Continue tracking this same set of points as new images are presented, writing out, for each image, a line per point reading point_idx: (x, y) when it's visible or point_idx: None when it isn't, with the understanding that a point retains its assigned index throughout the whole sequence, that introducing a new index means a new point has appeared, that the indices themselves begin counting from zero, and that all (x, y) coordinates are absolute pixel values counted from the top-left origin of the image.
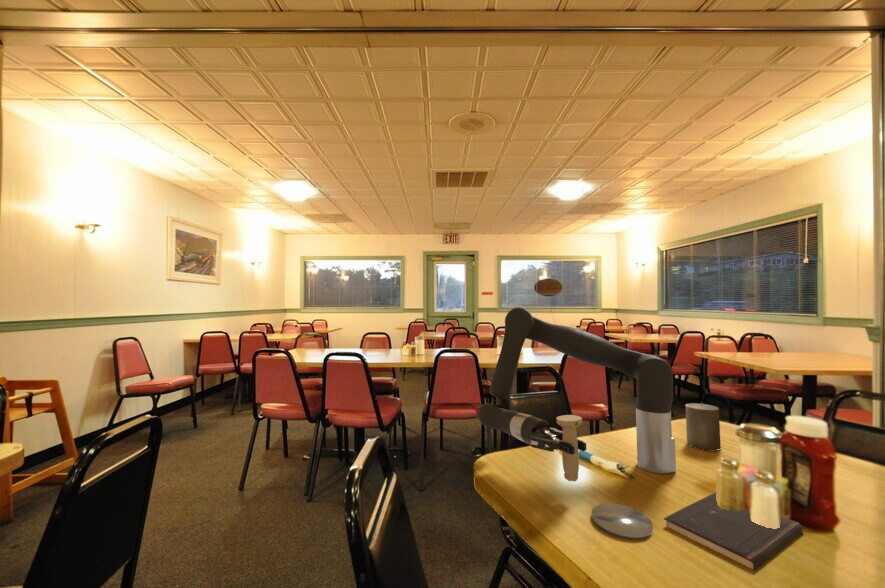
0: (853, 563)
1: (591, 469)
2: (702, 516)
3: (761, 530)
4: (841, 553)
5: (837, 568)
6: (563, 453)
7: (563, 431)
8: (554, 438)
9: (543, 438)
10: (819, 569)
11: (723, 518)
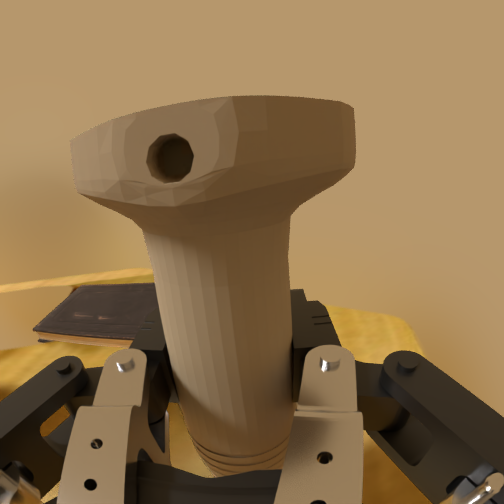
0: (123, 273)
1: None
2: (126, 319)
3: (121, 290)
4: (110, 278)
5: (140, 274)
6: (294, 410)
7: (286, 258)
8: (331, 405)
9: (458, 430)
10: (153, 277)
11: (114, 309)
